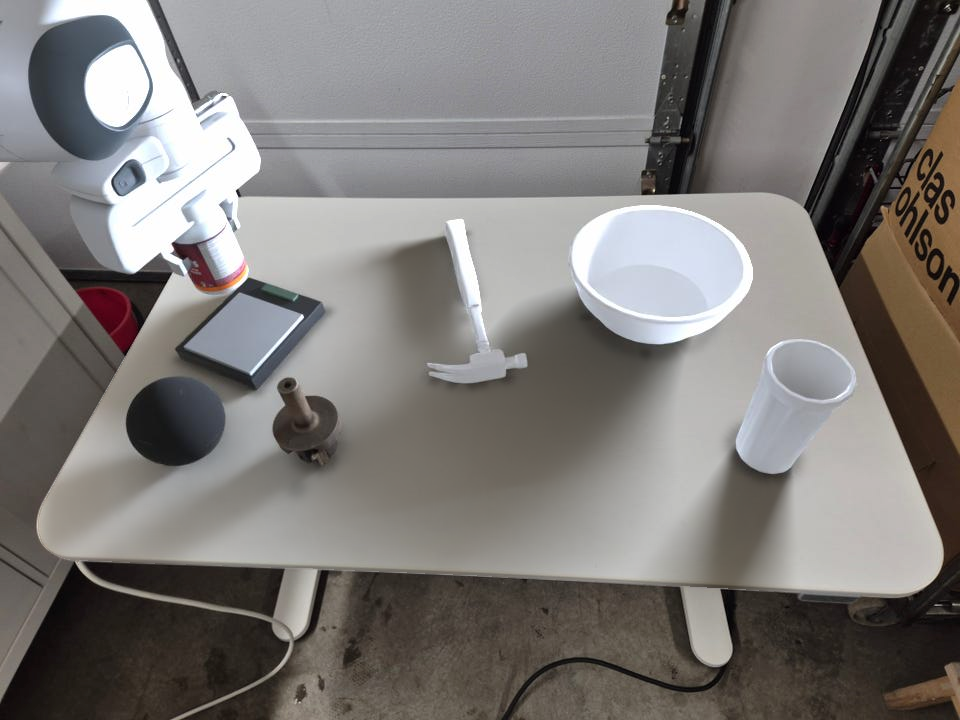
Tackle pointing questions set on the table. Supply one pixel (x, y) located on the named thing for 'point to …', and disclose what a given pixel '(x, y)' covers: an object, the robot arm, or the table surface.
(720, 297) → the bowl
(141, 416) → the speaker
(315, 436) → the industrial component
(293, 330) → the scale
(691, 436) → the table surface
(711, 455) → the table surface
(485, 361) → the hammer
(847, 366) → the cup
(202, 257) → the pill bottle
